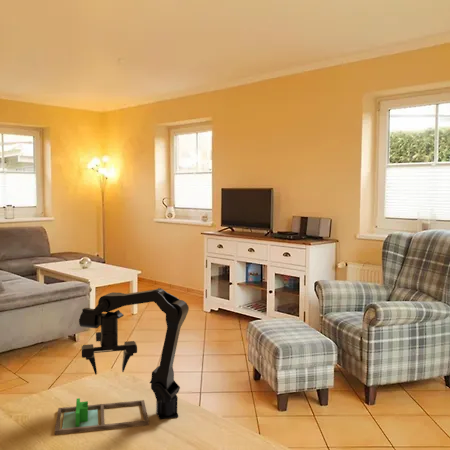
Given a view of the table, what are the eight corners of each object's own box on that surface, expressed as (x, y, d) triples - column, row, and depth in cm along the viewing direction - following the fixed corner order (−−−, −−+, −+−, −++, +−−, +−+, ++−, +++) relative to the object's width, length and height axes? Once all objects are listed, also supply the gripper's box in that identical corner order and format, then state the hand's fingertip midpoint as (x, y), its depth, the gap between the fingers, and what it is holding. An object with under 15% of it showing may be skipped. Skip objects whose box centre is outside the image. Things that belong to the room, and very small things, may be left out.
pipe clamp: (87, 426, 155) (87, 412, 154) (75, 427, 154) (75, 413, 153) (87, 410, 165) (87, 397, 165) (76, 411, 164) (76, 398, 164)
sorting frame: (143, 403, 172) (143, 400, 172) (148, 424, 157) (148, 421, 157) (58, 411, 164) (58, 408, 164) (54, 434, 149) (54, 430, 149)
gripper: (133, 321, 178) (133, 362, 179) (81, 325, 173) (81, 367, 174) (137, 329, 168) (137, 373, 169) (81, 334, 162) (81, 379, 163)
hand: (109, 372), depth 169 cm, fingers open, 9 cm apart
